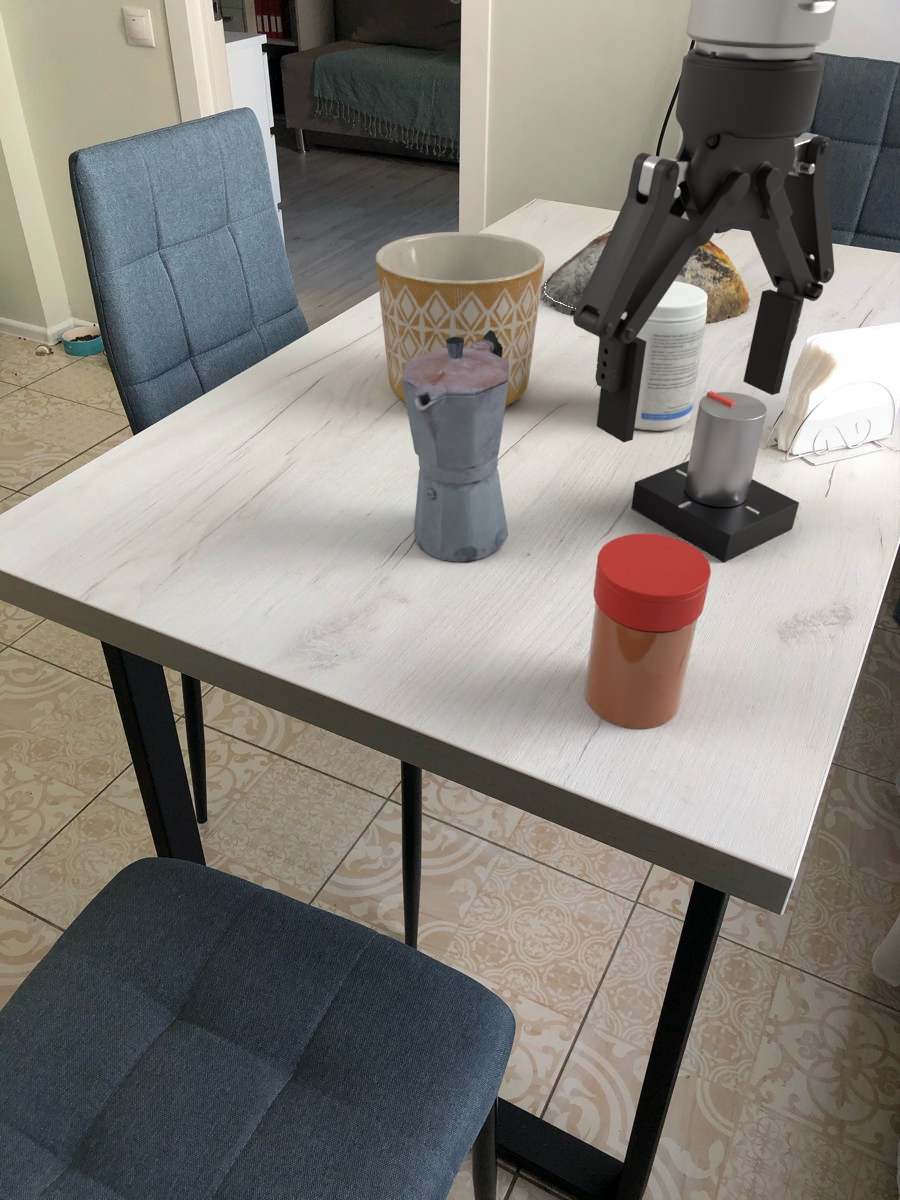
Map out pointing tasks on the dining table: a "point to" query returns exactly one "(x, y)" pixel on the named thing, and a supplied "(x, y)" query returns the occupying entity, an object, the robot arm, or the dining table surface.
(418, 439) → the moka pot
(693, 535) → the panel
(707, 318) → the bread
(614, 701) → the jar
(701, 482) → the dial
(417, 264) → the planter
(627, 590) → the lid
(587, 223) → the dining table surface
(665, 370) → the supplement tub
